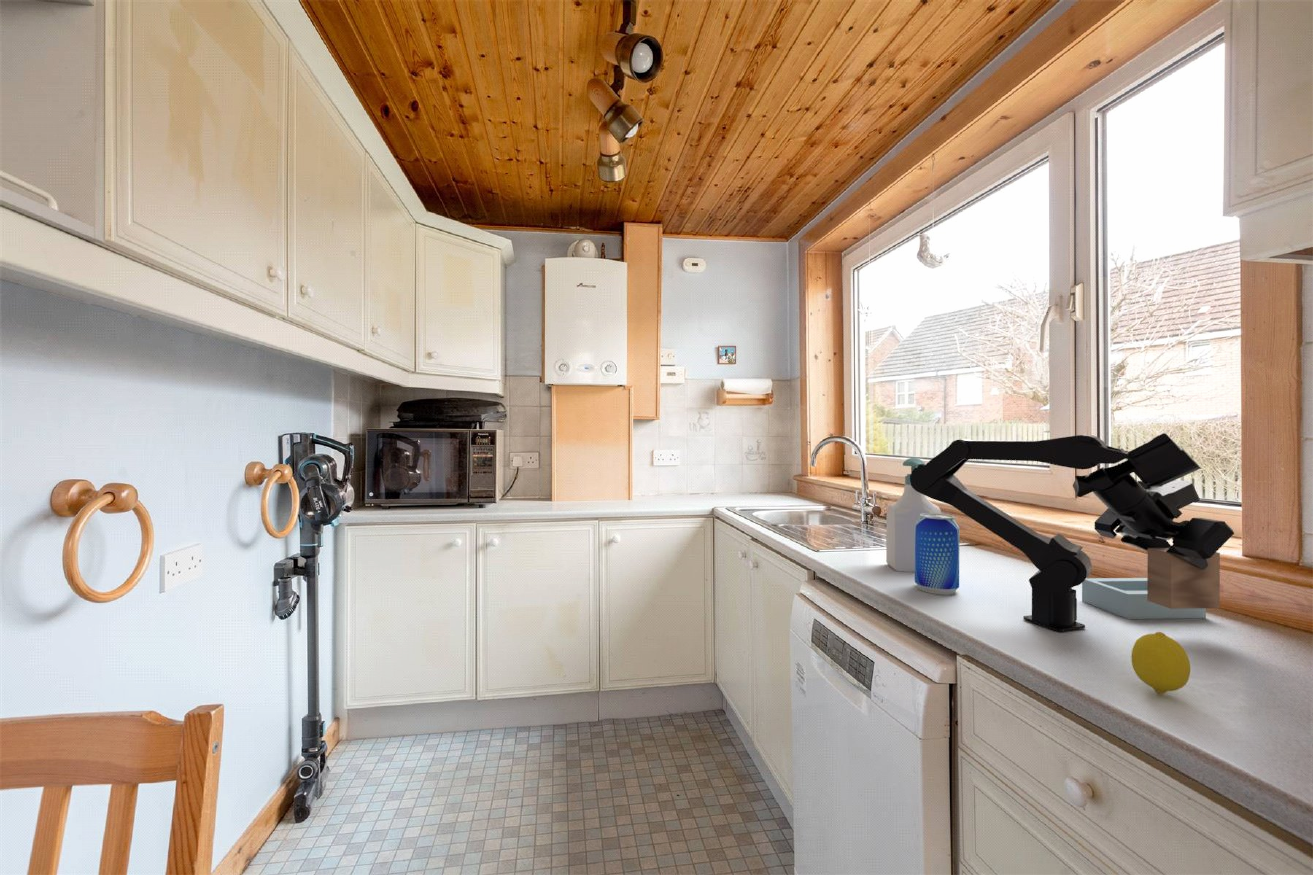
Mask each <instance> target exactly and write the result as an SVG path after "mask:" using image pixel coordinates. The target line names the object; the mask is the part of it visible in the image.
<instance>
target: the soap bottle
mask: <svg viewBox="0 0 1313 875" xmlns="http://www.w3.org/2000/svg"><path fill="white" fill-rule="evenodd" d="M922 465H926V464H925V461H923V460H922V459H920V458H917V457H910V458H906V459H905V460H904V461H903V462H902V467H903V466H904V467H910V473H907V474H906V475H905V476H904V483H905V484H904V489H903V493H902V495H901V496H900V497H899V498H898V499H897V500H896V501H895V502H893V503H892V504H889V505H888V506H887V510H886V519H885V520H886V526H885V527H886V538H885V540H886V545H885V546H886V555H885V556H886V564H887V565H889V567H891V568H892V569H893V570H895V571H896V572H914V573H915V524H916V522H917V521H918V519H919V518H920V514H923V513H938V514H942V510H941V508H940V507H939V506H938V505H936V504H934V503H933V502H931V501H930V500H929V499H928V497H927V496H925V495H923V494H921V493H919V492H917V491H915V490H914V489H913V488H912V486H911V482H910V475H911V472H912V471H913V470H914V469H915V468H916V467H918V466H922Z"/></svg>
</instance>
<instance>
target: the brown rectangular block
mask: <svg viewBox="0 0 1313 875" xmlns="http://www.w3.org/2000/svg"><path fill="white" fill-rule="evenodd" d="M1168 549H1169V548H1148V552H1147V577H1146V578H1147V601H1149V602H1152V603H1155V604H1158V605H1161V606H1164V607H1167V608H1170V609H1196V608H1206V609H1220V595H1221V594H1220V588H1221V587H1220V584H1221V583H1220V579H1221V578H1220V572H1221V571H1220V567H1221V565H1220V564H1221V563H1220V562H1221V560H1220V559H1221V555H1220V554H1221V553H1220V552H1218V551H1217V552H1216V553H1215V554H1214V555H1213V556H1212V557H1211V558H1208V559H1206V560H1207V563H1208V567H1207V568H1206V569H1205V570H1202V569H1199V568H1197V567H1195V566H1193V565H1191V564H1189V563H1187V562H1185V561H1183V560H1181V559H1179V558H1177V557H1175V556H1173V555H1171V554H1169V553H1167V552H1166V551H1167V550H1168Z"/></svg>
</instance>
